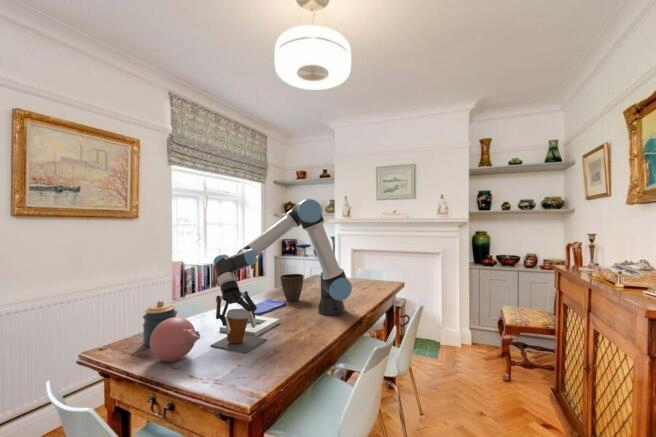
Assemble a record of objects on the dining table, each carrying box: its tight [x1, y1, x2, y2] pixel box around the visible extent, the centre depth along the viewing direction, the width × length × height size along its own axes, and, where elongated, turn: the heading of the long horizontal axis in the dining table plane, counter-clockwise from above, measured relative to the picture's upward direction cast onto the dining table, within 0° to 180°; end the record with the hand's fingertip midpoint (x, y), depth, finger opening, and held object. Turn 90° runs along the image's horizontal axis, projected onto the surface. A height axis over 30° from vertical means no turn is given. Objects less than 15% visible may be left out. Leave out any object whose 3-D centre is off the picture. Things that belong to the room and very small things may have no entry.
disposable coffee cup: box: [225, 308, 250, 343], centre depth 128 cm, size 10×10×12 cm
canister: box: [142, 300, 178, 348], centre depth 132 cm, size 13×13×18 cm
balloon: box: [149, 316, 201, 362], centre depth 114 cm, size 15×20×15 cm
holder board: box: [219, 315, 280, 337], centre depth 148 cm, size 20×20×2 cm
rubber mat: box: [210, 335, 268, 354], centre depth 129 cm, size 18×14×1 cm
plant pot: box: [279, 273, 305, 303], centre depth 195 cm, size 15×15×16 cm
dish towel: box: [240, 299, 288, 316], centre depth 180 cm, size 17×24×3 cm
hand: (242, 329), depth 126 cm, fingers open, 10 cm apart
